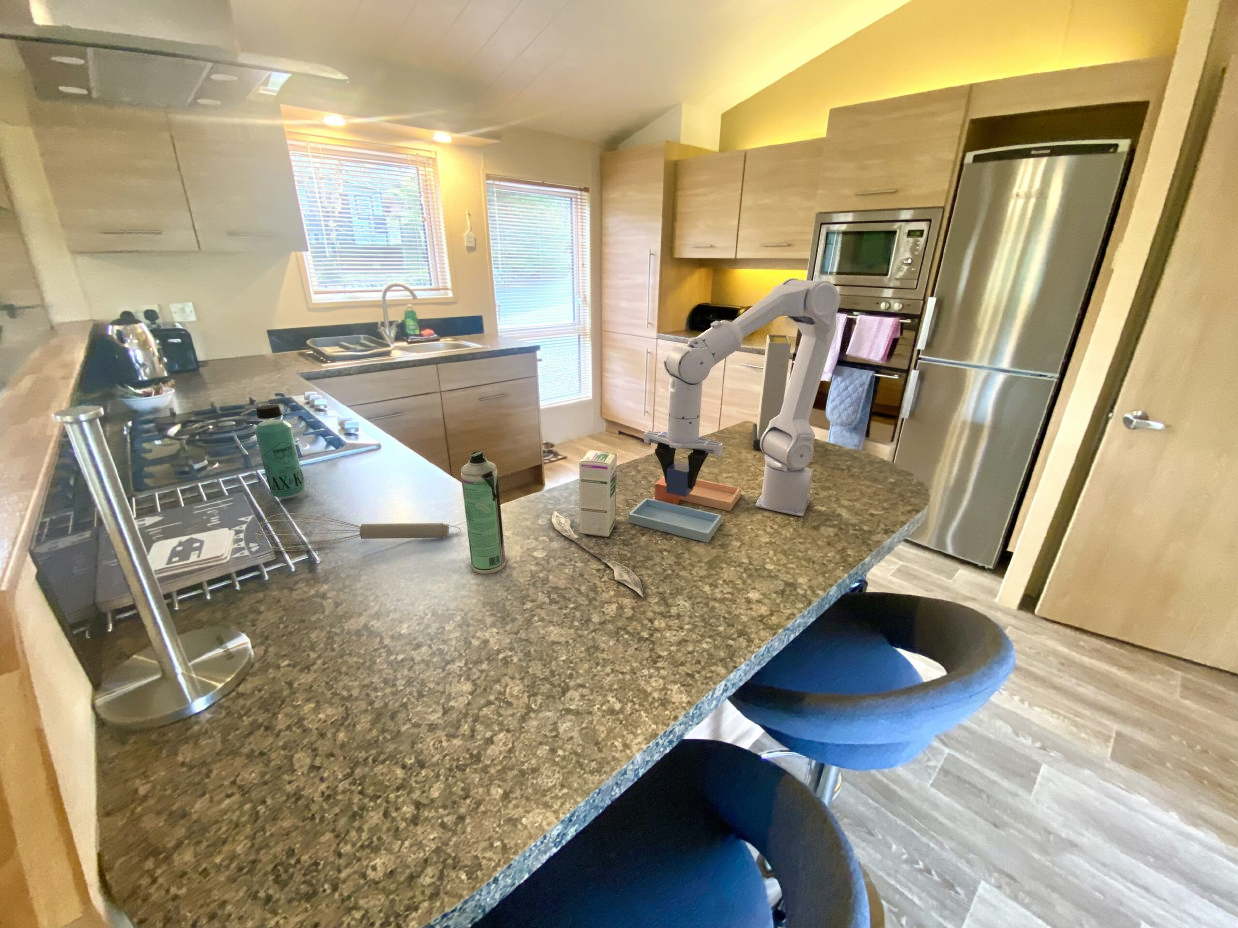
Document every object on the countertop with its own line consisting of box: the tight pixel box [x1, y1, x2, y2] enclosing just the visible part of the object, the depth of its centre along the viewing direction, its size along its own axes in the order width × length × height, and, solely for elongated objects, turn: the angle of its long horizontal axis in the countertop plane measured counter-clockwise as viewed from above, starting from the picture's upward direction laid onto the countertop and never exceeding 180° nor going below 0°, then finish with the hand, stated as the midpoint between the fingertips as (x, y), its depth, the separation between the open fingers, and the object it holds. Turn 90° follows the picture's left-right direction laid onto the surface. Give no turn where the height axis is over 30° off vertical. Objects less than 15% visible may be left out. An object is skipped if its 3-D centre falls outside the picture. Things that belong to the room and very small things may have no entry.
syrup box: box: [578, 450, 618, 538], centre depth 95 cm, size 6×6×14 cm
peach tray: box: [680, 478, 742, 512], centre depth 111 cm, size 16×8×2 cm, turn 62°
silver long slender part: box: [551, 510, 644, 598], centre depth 90 cm, size 32×1×5 cm
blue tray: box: [628, 497, 723, 544], centre depth 99 cm, size 16×8×2 cm, turn 62°
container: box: [752, 334, 792, 451], centre depth 138 cm, size 7×18×30 cm, turn 167°
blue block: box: [666, 460, 693, 497], centre depth 97 cm, size 4×4×5 cm
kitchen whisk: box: [254, 512, 462, 552], centre depth 91 cm, size 6×34×6 cm, turn 99°
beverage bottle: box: [253, 403, 306, 498], centre depth 105 cm, size 6×7×20 cm
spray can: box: [460, 450, 506, 575], centre depth 82 cm, size 6×6×20 cm
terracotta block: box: [654, 476, 681, 505], centre depth 106 cm, size 4×4×5 cm
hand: (680, 484), depth 97 cm, fingers closed on blue block, 4 cm apart
